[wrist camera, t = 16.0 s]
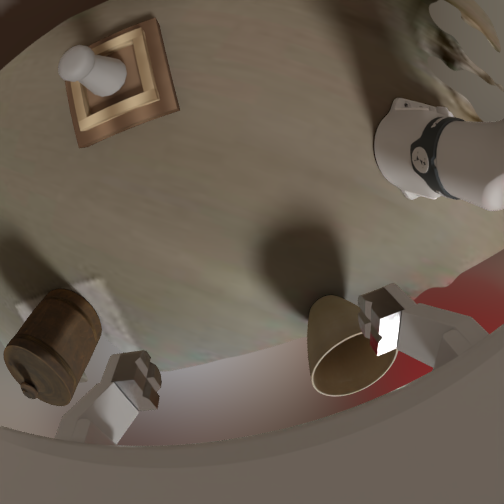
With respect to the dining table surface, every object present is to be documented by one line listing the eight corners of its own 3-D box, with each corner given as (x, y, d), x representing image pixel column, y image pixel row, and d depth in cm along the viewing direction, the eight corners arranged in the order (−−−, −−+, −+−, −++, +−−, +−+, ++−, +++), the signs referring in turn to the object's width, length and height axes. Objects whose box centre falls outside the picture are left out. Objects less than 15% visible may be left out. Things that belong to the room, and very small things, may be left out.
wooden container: (33, 298, 44) (-18, 365, 24) (75, 278, 44) (18, 356, 24) (70, 350, 50) (36, 422, 30) (115, 337, 50) (83, 423, 30)
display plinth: (159, 24, 29) (152, 12, 24) (180, 110, 35) (174, 106, 31) (70, 64, 29) (56, 58, 24) (87, 147, 35) (72, 149, 31)
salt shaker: (93, 71, 28) (48, 52, 16) (127, 56, 28) (91, 27, 16) (99, 104, 31) (52, 95, 19) (134, 89, 31) (97, 71, 19)
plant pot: (337, 262, 48) (379, 312, 34) (370, 308, 54) (407, 357, 39) (273, 311, 51) (292, 374, 36) (314, 349, 56) (338, 406, 42)
